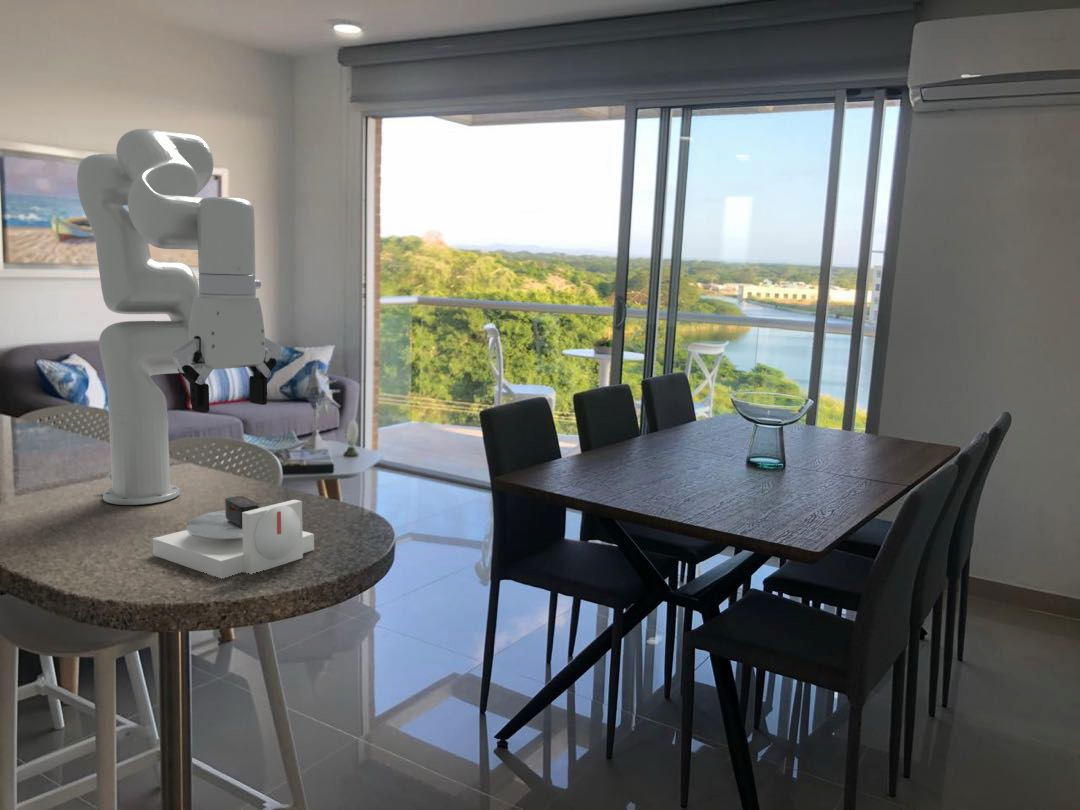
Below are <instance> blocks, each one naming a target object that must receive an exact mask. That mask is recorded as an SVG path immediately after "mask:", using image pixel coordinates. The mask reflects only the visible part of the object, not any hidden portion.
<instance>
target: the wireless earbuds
mask: <svg viewBox="0 0 1080 810" xmlns="http://www.w3.org/2000/svg"><path fill="white" fill-rule="evenodd" d="M224 501H225V502H224V505H225V509H224V510H226V518H227V519H228V520H229V521H231V522H233V523H235V524H237V525H238V526H240V527H242V512H246V511H250V510H254V509H258V508H260V503H258V502H257V501H254V500H252V499H250V498H248V497H245V496H243V495H238V496H232V497H231V496H230V497H226V498H224Z"/></svg>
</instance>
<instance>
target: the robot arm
mask: <svg viewBox="0 0 1080 810" xmlns="http://www.w3.org/2000/svg"><path fill="white" fill-rule="evenodd" d="M115 152H116V153H97V154H92V155H89V156H86V157H84V158H83V159H82V160H81V161H80V163H79V165H78V168H77V175H76V183H77V184H76V185H77V186H76V187H77V193H78V199H79V202H80V204H81V207H82V210H83V213H84V214H85V217H86V218H87V221H88V223H89V226H90V227H91V231H92V233H93V237H94V240H95V247H96V255H97V256H96V257H97V265H98V272H99V279H100V286H101V288H100V289H101V293H102V298H103V302H104V305H106V308H107V309H108V310H109V311H111V312H113V313H117V314H122V315H167V316H168V317H169V319H170V320H130V321H129V320H128V321H119V322H116V323H115V322H114V323H112V324H110V325H108V326H106V327H105V328H104V329H103V330H102V331H101V333H100V335H99V339H98V348H99V354H100V359H101V362H102V363H101V365H102V368H103V373H104V378H105V384H106V393H107V407H108V408H107V409H108V411H107V412H108V426H109V427H108V430H109V445H110V446H109V447H110V448H109V451H110V467H111V468H110V469H111V470H110V471H109V472H108V473H107V474H106V479H107V480H108V481H111V487H110V488H107V489H105V491H103V493H102V500H103V501H104V502H105V503H108V504H112V505H117V506H118V505H119V506H120V505H121V506H139V505H140V506H141V505H151V504H157V503H162V502H166V501H170V500H173V499H175V498H177V497H178V496H180V487H179V486H178V485H176V484H173V483H171V481H170V480H171V477H170V475H171V474H170V453H169V451H170V448H169V447H170V446H169V425H168V424H169V423H168V402H167V398H166V396H165V393H164V392H163V391H162V389H161V388H160V387H159V386H158V385H157V384H156V383H155V382H154V380H153V379H152V377H151V376H155V375H156V376H157V375H167V374H180V375H181V376H183V378H184V379H185V381H186V383H188V384H189V394H190V395H189V396H190V398H189V400H190V405H191V410H192V411H193V412H198V413H202V414H203V413H204V414H206V413H209V412H210V386H209V383H205V382H206V381H207V379H208V378H209V377H210V374H211V373H212V372H213V370H226V369H227V370H228V369H238V368H247V369H248V370H249V371H250V372H251V373H252V375H249V378H248V381H249V386H248V387H249V402H250V403H251V404H256V405H261V406H264V405H267V404H268V378H270V377H271V375H272V371H273V369H274V368H275V366H276V365H277V360H278V358H279V357H280V356H279V355H280V354H281V350H282V347H281V346H280V345H279V344H277V343H275V342H273V341H271V340H270V339H267V338H266V335H265V334H266V333H265V324H264V323H265V322H264V317H263V311H262V304H261V302H260V298H259V297H257V295H256V293H257V291H256V289H260V288H261V286H262V282H261V280H260V279H256V238H255V237H256V234H255V233H256V232H255V209H254V206H253V204H252V202H250V201H249V200H247V199H245V198H238V197H225V196H224V197H223V196H207V197H196V196H197V195H198V194H199V193H200V192H201V191H202V190H203V189H204V188H205V187H206V186H207V185H208V184H209V182H210V181H211V179H212V176H213V172H214V157H213V154H212V151H211V148H210V147H209V145H208V143H207V142H206V141H205V140H203V139H202V138H201V137H200V136H198V135H195V134H191V133H183V132H174V131H167V130H161V129H160V130H159V129H153V128H136V129H132V130H130V131H128V132H126V133H124V134H122V136H121V137H120V138H119V140H118V141H117V144H116V149H115ZM124 206H128V207H127V208H125V207H124ZM127 209H128V210H127ZM150 245H151V246H153V247H154V248H158V249H165V250H189V251H190V250H191V251H192V250H193V251H197V258H198V259H197V260H198V279H197V277H196V275H195V272H194V271H193V269H191V267H190V266H189V265H187V264H185V263H183V262H180V261H170V260H169V261H168V260H167V261H166V260H154V259H153V258H152V256H151V251H150Z"/></svg>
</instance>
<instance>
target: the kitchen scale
mask: <svg viewBox="0 0 1080 810" xmlns="http://www.w3.org/2000/svg"><path fill="white" fill-rule="evenodd" d="M185 528H186V529H185V530H181V531H177V532H172V533H170V534H169V533H168V534H164V535H162V536H157V537H153V538H152V551H153V553H152V555H153V556H155V557H158V558H161V559H163V560H167V561H170V562H172V563H175V564H178V565H180V566H182V567H183V566H184V567H187V568H190V569H192V570H195V571H197V572H201V573H203V572H204V574H206V573H207V574H206V575H209V576H211V577H215V576H216V577H215V578H217V577H218V579H220V578H221V580H223V579H226V578H229V576H230V577H233V576H235V574H236V575H239V574H241V572H242V573H245V572H246V573H245V574H248V573H249V574H248V575H254V574H256V572H258V573H260V571H261V572H263V570H264V571H267V570H269V569H273V568H277V567H279V566H283V565H286V564H289V563H291V562H296V561H298V560H301V559H303V558H304V554H307V553H309V552H312V551H315V534H314V533H312V532H308V531H306V530H305V531H304V530H303V501H302V500H298V499H291V500H286V501H282V502H278V503H275V504H274V503H273V504H270V505H267V506H262V507H259V508H258V509H254V510H250V511H246V512H242V527H240V526H238V525H237V524H235V523H233V522H231V521H229V520H228V519H227V518H226V509H223V510H217V511H210V512H207V513H203V514H200V515H197V516H195V517H192V518H190V519H189V520H188V521H187V522H186V527H185ZM238 573H239V574H238ZM253 573H254V574H253ZM232 575H233V576H232ZM225 577H226V578H225ZM222 578H223V579H222Z"/></svg>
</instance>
